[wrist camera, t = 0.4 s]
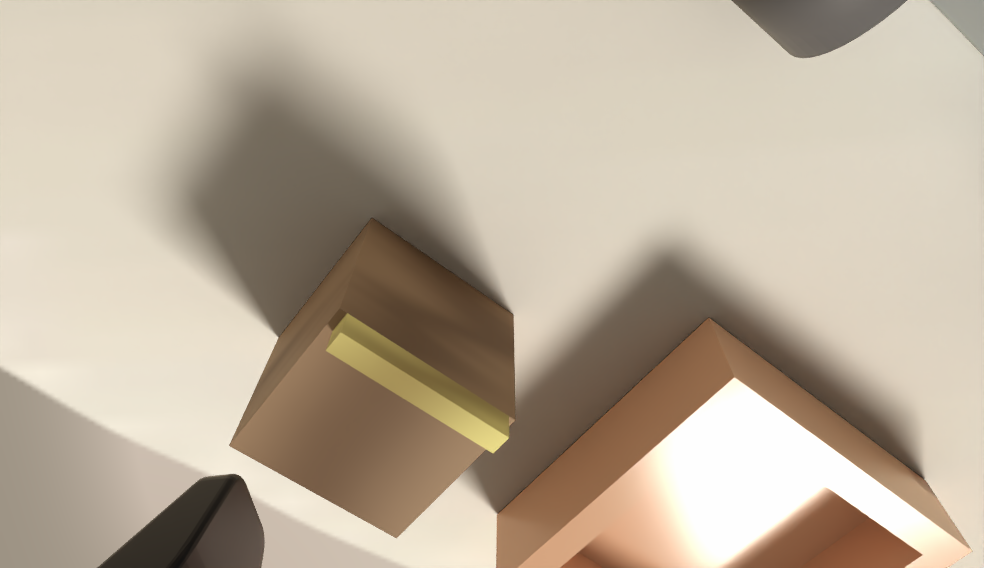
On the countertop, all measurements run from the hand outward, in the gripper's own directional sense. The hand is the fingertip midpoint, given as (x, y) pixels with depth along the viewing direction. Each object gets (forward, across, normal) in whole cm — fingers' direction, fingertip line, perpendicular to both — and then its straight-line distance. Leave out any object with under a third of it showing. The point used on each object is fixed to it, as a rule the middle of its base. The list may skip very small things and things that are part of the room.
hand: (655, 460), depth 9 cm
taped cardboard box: (+14, +6, +6) cm, 16 cm away
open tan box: (+14, -3, +14) cm, 20 cm away
